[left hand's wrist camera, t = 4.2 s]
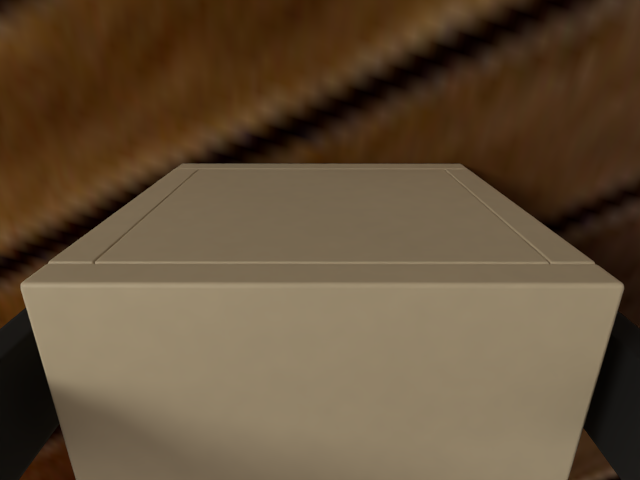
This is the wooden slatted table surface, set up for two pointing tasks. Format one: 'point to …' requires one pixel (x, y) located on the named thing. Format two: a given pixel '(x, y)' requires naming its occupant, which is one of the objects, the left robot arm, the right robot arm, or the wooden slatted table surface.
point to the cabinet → (321, 329)
